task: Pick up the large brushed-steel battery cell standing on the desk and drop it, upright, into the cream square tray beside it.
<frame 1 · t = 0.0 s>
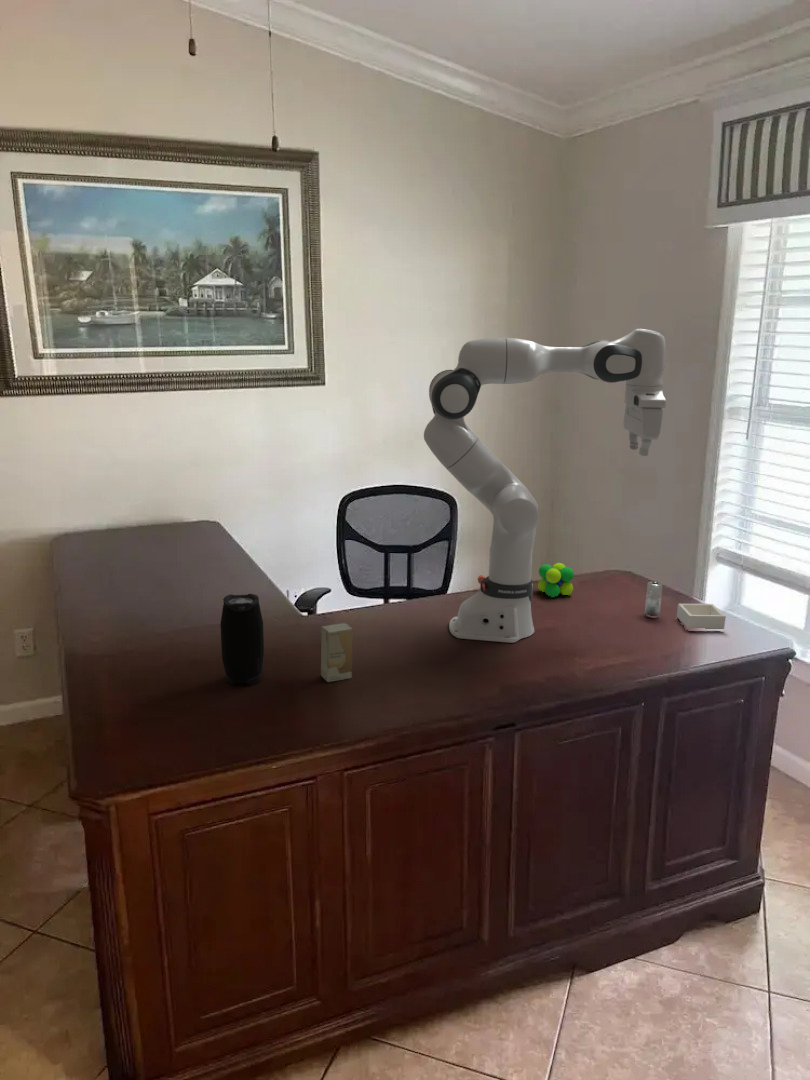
hand: (638, 452, 216), 48 cm above the table, fingers open, 8 cm apart
portable speaker: (243, 680, 196), on the table
molecule model: (554, 594, 258), on the table
cream square tray: (699, 625, 234), on the table
skincare box: (336, 677, 198), on the table
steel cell: (651, 615, 241), on the table
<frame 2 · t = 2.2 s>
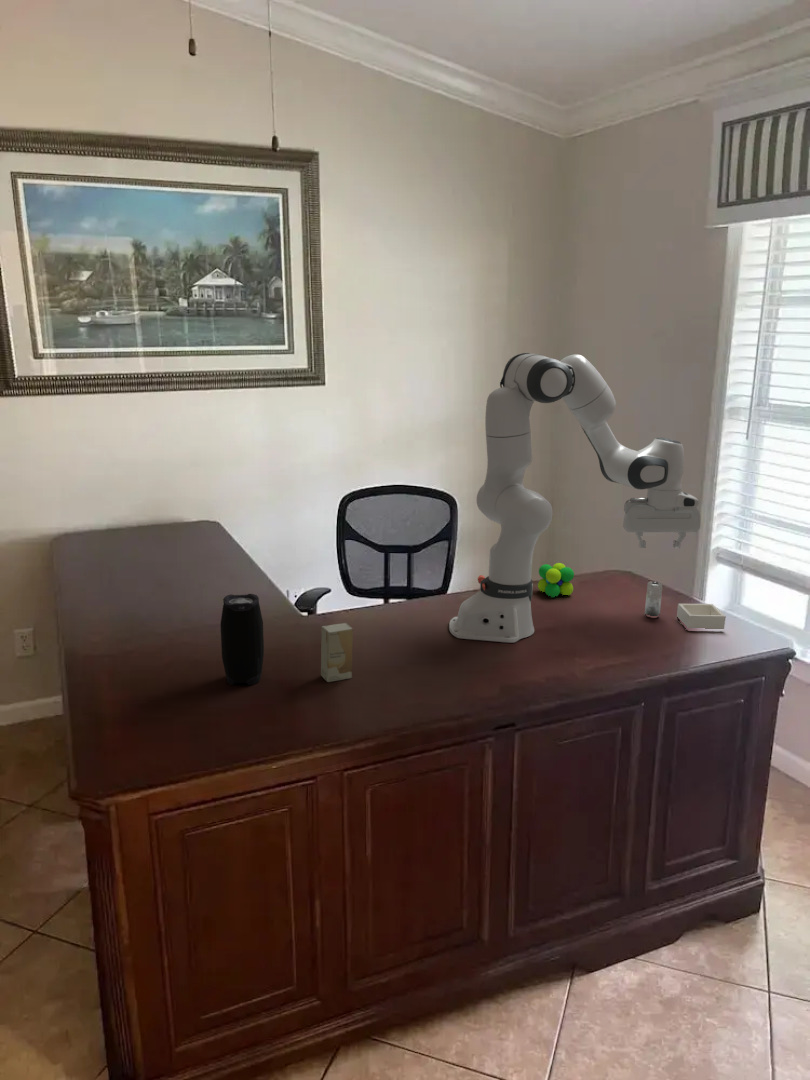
hand: (659, 547, 235), 20 cm above the table, fingers open, 8 cm apart
nothing on the table moved.
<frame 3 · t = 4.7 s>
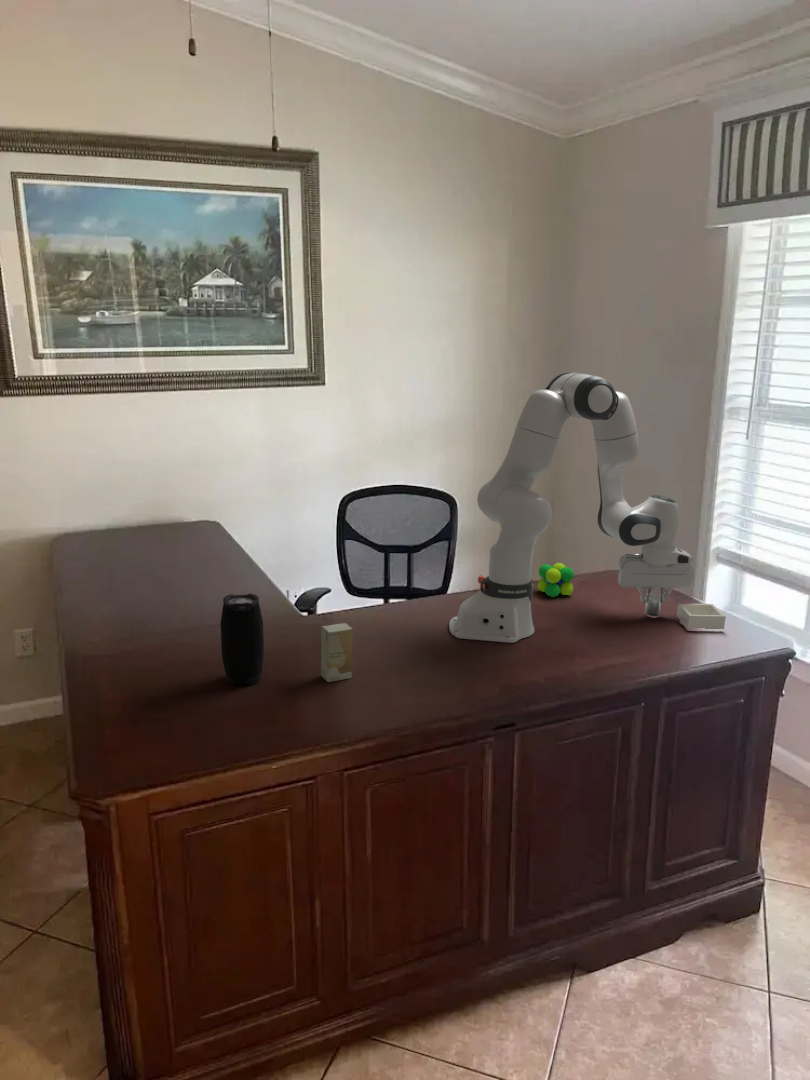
hand: (653, 601, 240), 4 cm above the table, fingers closed on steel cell, 4 cm apart
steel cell: (652, 615, 241), on the table, touching gripper
everything else where it was.
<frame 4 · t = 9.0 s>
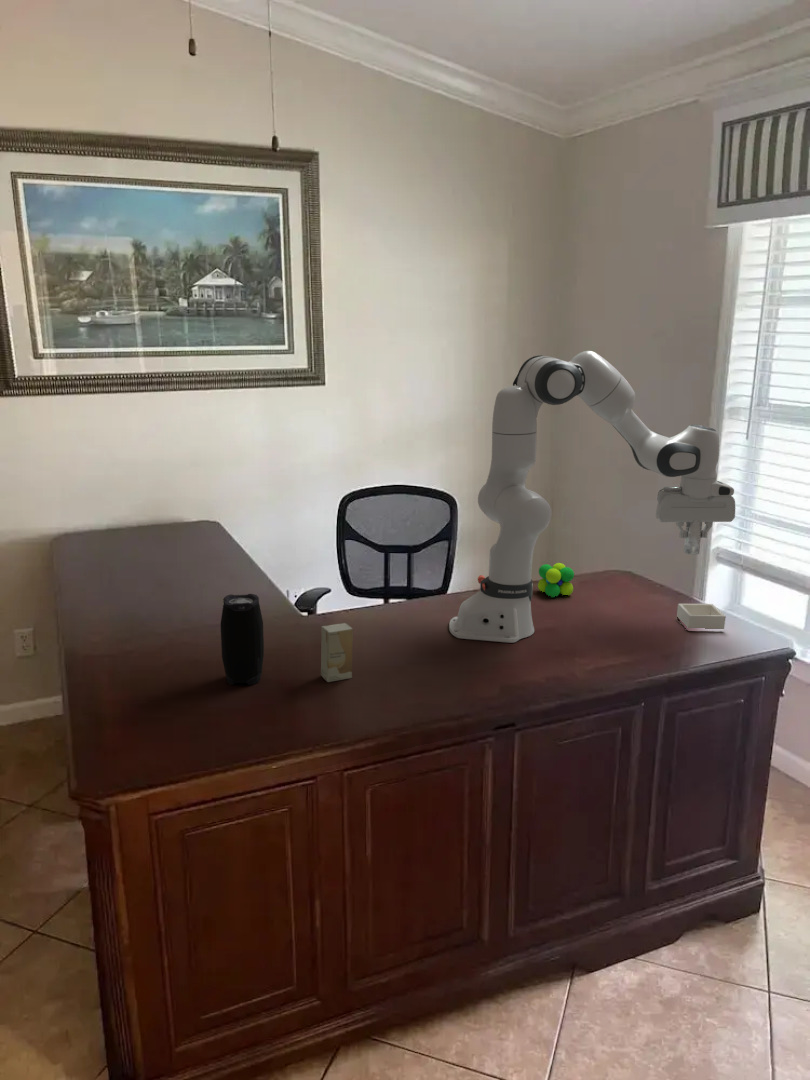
hand: (692, 537, 230), 24 cm above the table, fingers closed on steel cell, 4 cm apart
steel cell: (691, 552, 231), point 20 cm above the table, touching gripper
everything else where it was.
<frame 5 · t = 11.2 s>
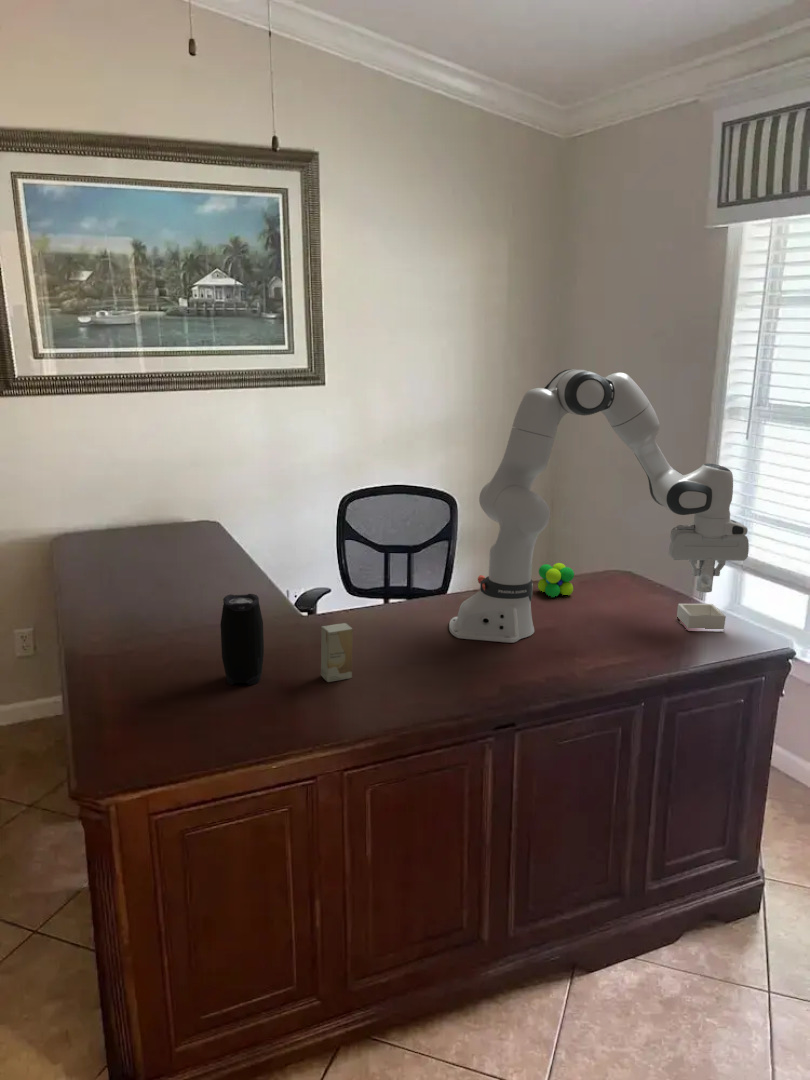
hand: (705, 575, 230), 14 cm above the table, fingers closed on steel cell, 4 cm apart
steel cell: (703, 590, 231), point 10 cm above the table, touching gripper
everything else where it was.
when the fingers open (7 cm above the table, at t = 13.4 s): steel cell drops 2 cm, resting on cream square tray.
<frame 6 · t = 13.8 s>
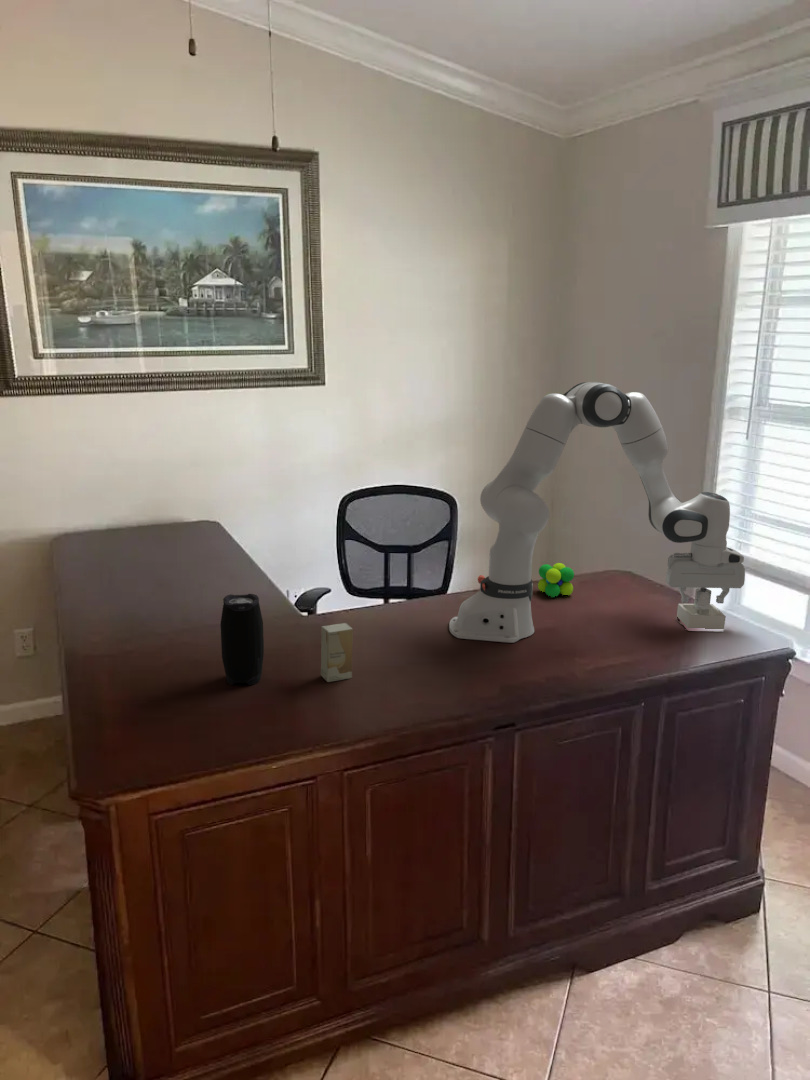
hand: (702, 602, 232), 7 cm above the table, fingers open, 8 cm apart
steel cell: (699, 623, 234), point 1 cm above the table, touching cream square tray
everything else where it was.
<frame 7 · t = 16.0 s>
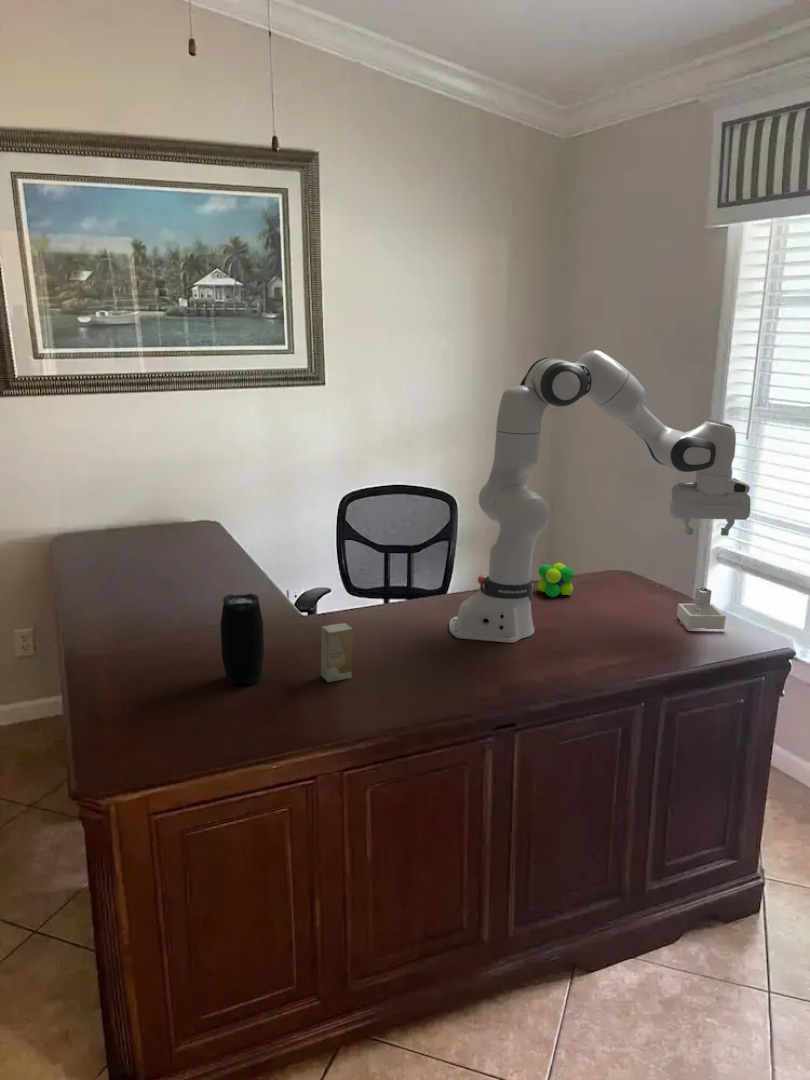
hand: (706, 534, 228), 25 cm above the table, fingers open, 8 cm apart
nothing on the table moved.
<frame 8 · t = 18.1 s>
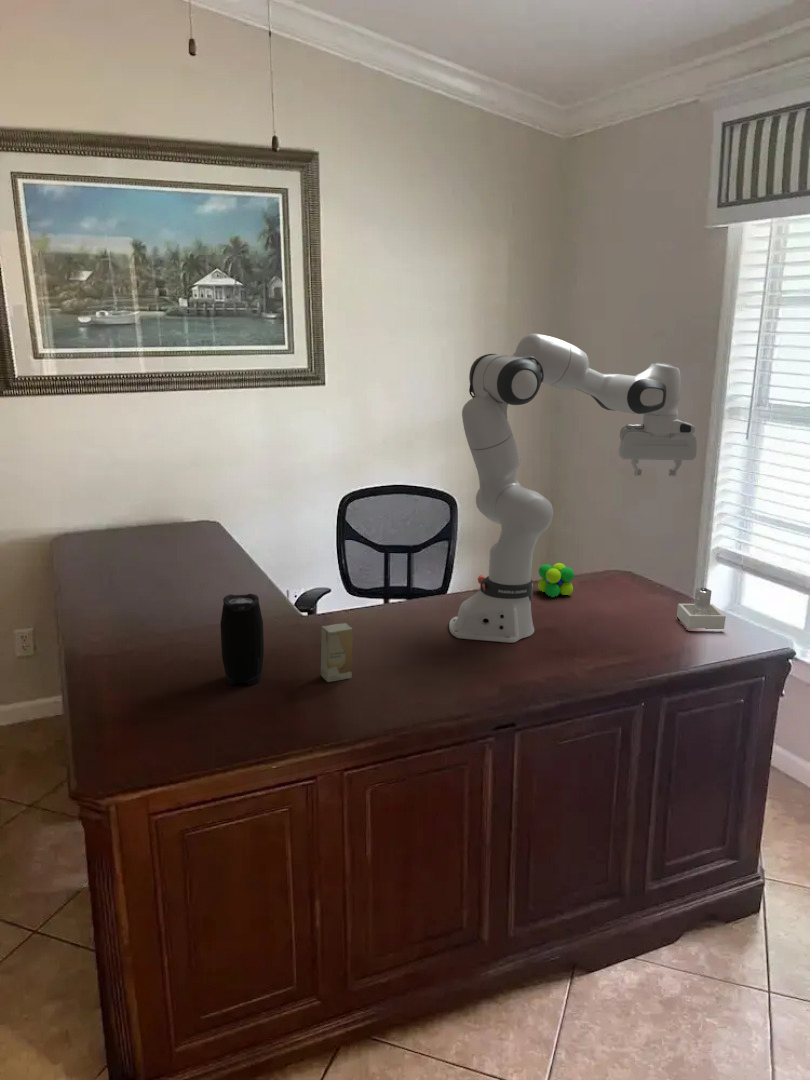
hand: (655, 475, 233), 39 cm above the table, fingers open, 8 cm apart
nothing on the table moved.
at the end: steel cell 0.0 cm off-centre on the cream square tray, point 0.5 cm above the cream square tray's base; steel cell tilted 0°; the gripper is holding nothing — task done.
